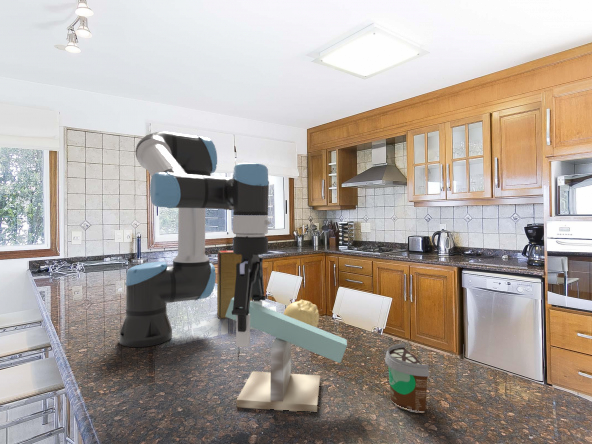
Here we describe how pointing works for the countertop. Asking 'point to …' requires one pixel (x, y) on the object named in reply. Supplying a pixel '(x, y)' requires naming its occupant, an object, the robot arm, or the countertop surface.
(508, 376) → the countertop surface
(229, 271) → the food packaging
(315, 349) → the beam
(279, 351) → the balance stand
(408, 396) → the food container
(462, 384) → the countertop surface
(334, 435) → the countertop surface
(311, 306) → the sculpture
